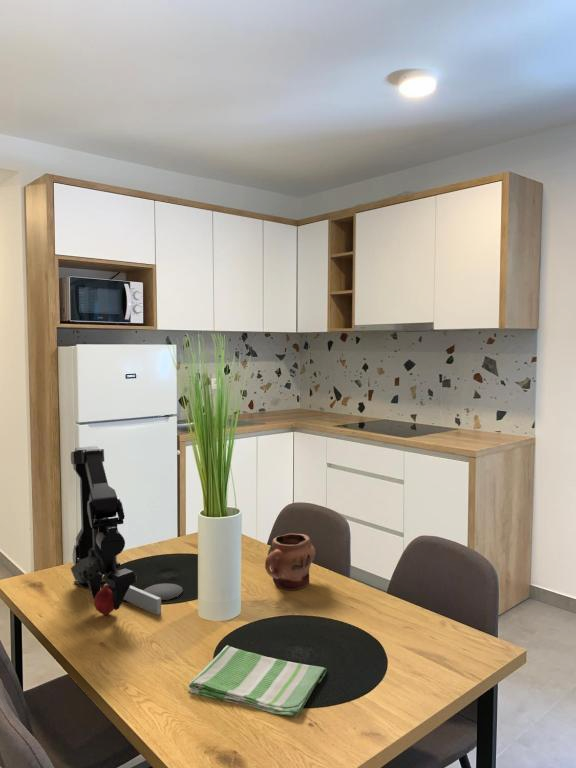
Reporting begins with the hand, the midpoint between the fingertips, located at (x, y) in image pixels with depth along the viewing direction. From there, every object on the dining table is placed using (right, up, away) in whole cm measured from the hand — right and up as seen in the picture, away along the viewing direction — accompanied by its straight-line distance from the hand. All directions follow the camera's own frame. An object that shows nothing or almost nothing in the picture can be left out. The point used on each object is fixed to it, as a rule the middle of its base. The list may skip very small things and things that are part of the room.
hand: (106, 604), depth 154 cm
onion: (0, -3, 0) cm, 3 cm away
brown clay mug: (+47, -2, +18) cm, 50 cm away
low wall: (+6, -2, +7) cm, 9 cm away
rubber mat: (+12, -2, +14) cm, 18 cm away
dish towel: (+40, -5, -31) cm, 51 cm away
